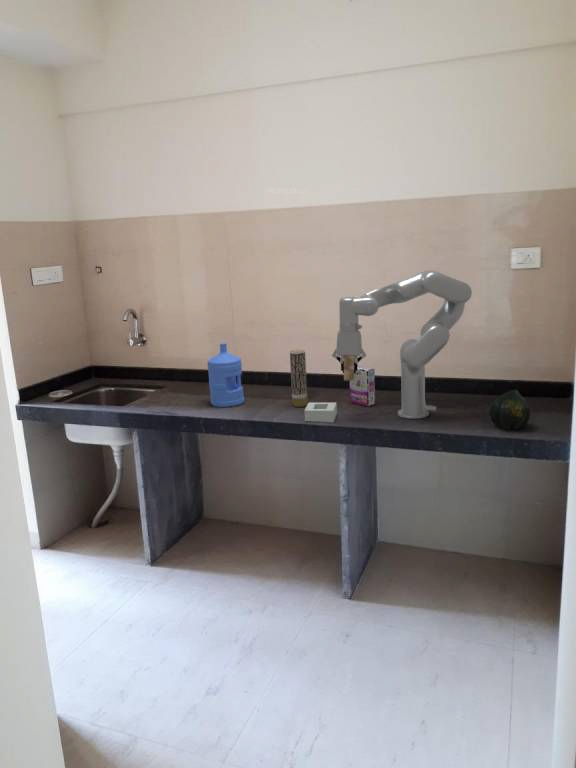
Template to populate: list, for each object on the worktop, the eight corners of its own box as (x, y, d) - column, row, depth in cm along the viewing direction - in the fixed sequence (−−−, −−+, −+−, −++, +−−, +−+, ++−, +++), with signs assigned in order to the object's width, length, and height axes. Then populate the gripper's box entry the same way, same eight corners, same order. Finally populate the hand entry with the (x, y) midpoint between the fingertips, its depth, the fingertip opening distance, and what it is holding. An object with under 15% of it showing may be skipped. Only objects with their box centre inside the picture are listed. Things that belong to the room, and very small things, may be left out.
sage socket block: (336, 413, 272) (336, 402, 270) (333, 422, 260) (333, 410, 259) (309, 413, 274) (308, 402, 273) (304, 422, 262) (304, 410, 261)
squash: (485, 418, 237) (514, 389, 233) (480, 408, 252) (507, 380, 248) (514, 443, 237) (543, 413, 234) (507, 431, 252) (534, 404, 248)
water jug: (205, 407, 292) (200, 347, 285) (217, 398, 307) (212, 341, 300) (238, 408, 288) (233, 347, 281) (248, 398, 303) (244, 341, 296)
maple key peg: (354, 377, 263) (354, 353, 261) (353, 380, 258) (353, 356, 255) (344, 377, 264) (344, 353, 261) (344, 380, 258) (343, 356, 256)
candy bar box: (375, 404, 283) (375, 368, 279) (368, 407, 279) (367, 370, 275) (357, 400, 291) (356, 365, 287) (349, 402, 288) (348, 367, 284)
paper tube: (289, 405, 288) (286, 351, 282) (300, 402, 292) (298, 349, 286) (299, 408, 283) (296, 353, 277) (310, 405, 287) (308, 350, 281)
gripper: (370, 326, 258) (370, 370, 262) (328, 326, 260) (329, 370, 265) (369, 329, 251) (369, 374, 255) (327, 329, 253) (328, 374, 258)
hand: (349, 372), depth 260 cm, fingers closed on maple key peg, 4 cm apart
